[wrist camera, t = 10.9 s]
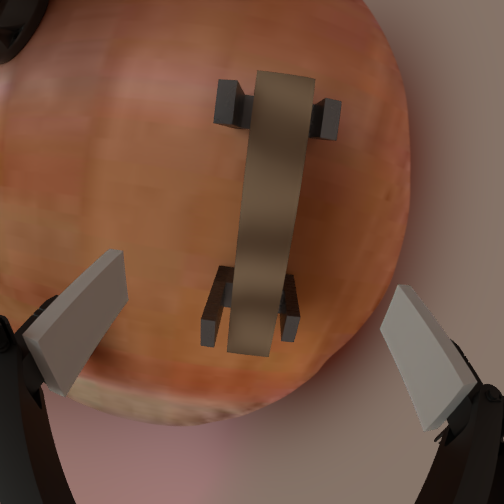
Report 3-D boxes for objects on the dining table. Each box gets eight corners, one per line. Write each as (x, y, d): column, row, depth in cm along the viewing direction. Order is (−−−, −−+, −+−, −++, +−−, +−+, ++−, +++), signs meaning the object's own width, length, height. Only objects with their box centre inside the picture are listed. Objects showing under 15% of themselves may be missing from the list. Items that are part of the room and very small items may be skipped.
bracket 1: (235, 99, 24) (218, 79, 15) (321, 110, 24) (349, 98, 15) (232, 127, 26) (213, 122, 16) (317, 139, 26) (343, 141, 16)
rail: (259, 83, 21) (257, 70, 16) (305, 90, 21) (315, 78, 16) (232, 321, 30) (226, 352, 26) (268, 325, 30) (268, 357, 26)
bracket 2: (219, 265, 32) (200, 319, 22) (293, 275, 32) (302, 331, 22) (217, 288, 33) (200, 345, 24) (288, 297, 33) (295, 356, 24)
